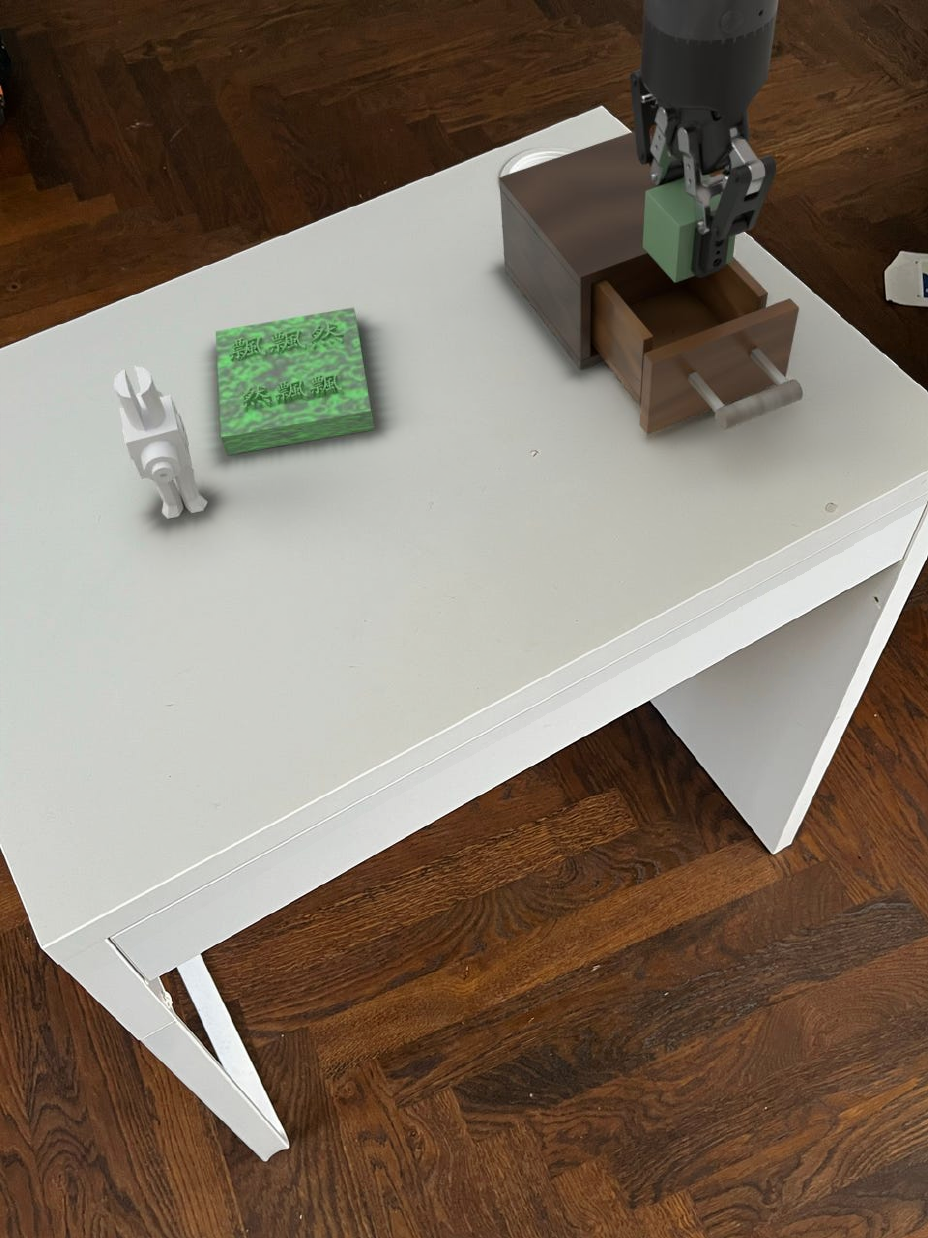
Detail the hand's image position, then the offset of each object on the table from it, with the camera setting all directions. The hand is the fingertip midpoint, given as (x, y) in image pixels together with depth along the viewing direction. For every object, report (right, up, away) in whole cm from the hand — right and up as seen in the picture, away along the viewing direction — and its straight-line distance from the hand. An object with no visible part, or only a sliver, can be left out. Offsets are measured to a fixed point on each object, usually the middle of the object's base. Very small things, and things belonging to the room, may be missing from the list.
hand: (687, 249), depth 79 cm
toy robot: (-36, -17, +6) cm, 40 cm away
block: (0, 0, 0) cm, 0 cm away
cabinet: (-3, +1, +15) cm, 15 cm away
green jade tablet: (-29, -7, +12) cm, 32 cm away
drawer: (+2, -7, +7) cm, 10 cm away
